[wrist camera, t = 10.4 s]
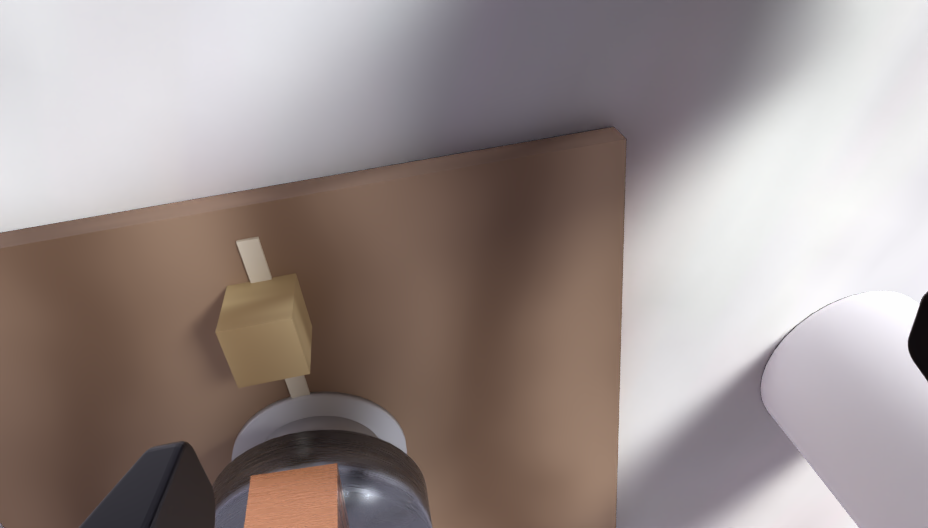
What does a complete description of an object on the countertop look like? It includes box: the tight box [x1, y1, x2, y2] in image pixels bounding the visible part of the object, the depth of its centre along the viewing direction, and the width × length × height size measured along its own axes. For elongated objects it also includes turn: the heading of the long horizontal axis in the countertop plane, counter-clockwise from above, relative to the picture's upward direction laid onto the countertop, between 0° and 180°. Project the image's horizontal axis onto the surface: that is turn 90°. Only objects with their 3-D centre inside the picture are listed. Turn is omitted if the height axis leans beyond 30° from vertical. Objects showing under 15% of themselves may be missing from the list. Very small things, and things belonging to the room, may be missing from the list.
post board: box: [0, 127, 626, 528], centre depth 23 cm, size 22×20×3 cm
